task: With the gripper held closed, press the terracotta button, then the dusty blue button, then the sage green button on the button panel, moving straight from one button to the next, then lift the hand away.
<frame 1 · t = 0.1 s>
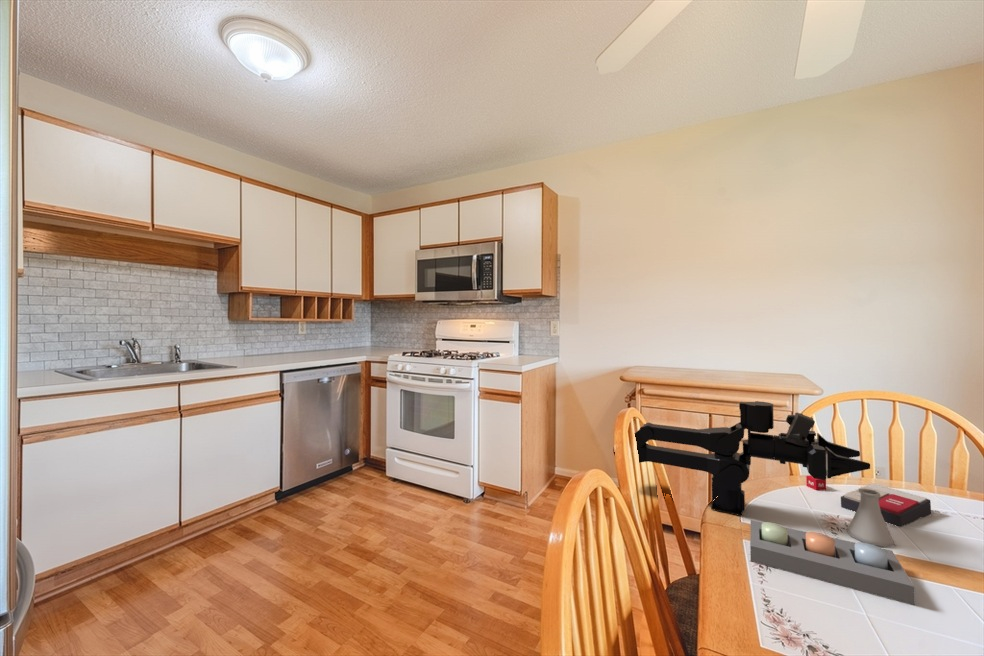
hand: (864, 459, 82), 17 cm above the table, tool horizontal, fingers open, 9 cm apart
button blue: (870, 557, 69), point 3 cm above the table, slide at 0.0 cm
button terracotta: (820, 546, 73), point 3 cm above the table, slide at 0.0 cm
flask: (870, 539, 82), on the table
red letter cube: (816, 488, 108), on the table
button sage: (774, 535, 77), point 3 cm above the table, slide at 0.0 cm
black product box: (885, 512, 94), on the table
button panel: (820, 563, 73), on the table
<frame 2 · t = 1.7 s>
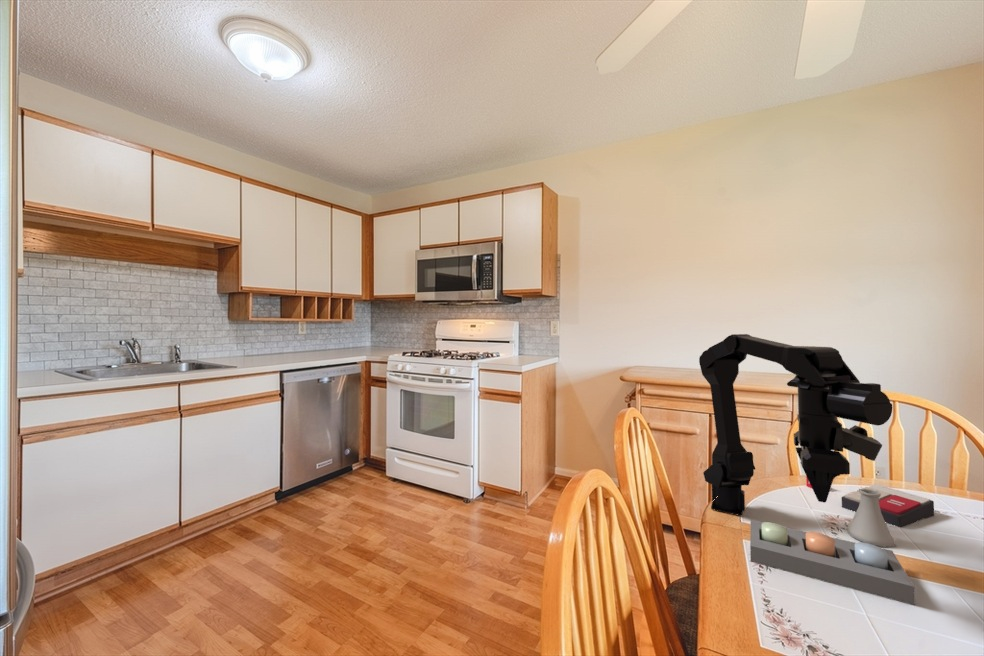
hand: (819, 495, 73), 13 cm above the table, tool pointing down, fingers open, 6 cm apart
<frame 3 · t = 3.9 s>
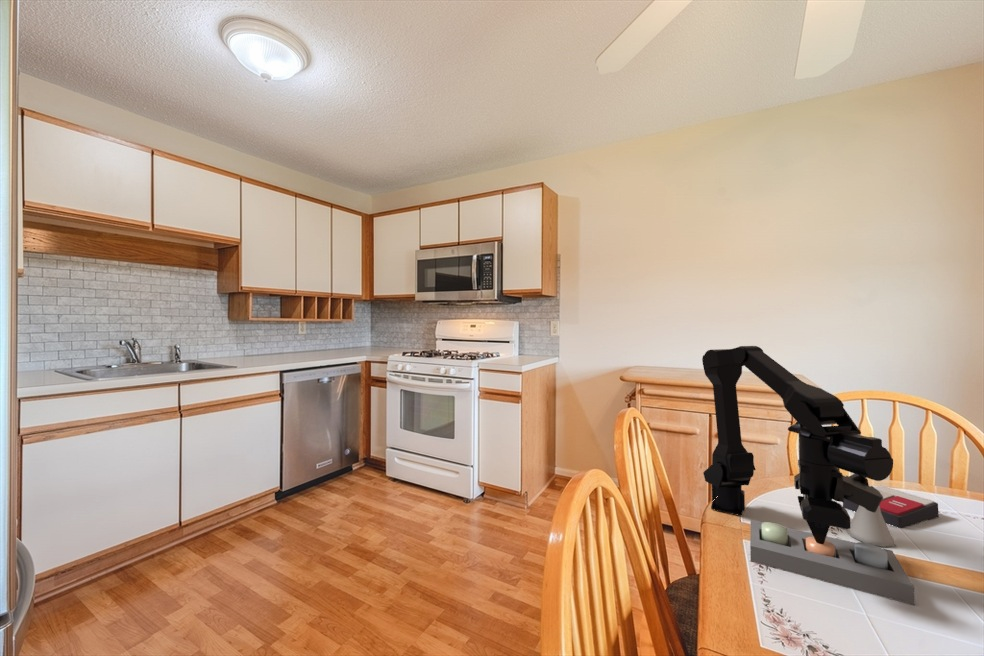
hand: (819, 542, 73), 4 cm above the table, tool pointing down, fingers closed, pressing on button terracotta
button terracotta: (820, 551, 73), point 2 cm above the table, slide at 1.0 cm, touching gripper
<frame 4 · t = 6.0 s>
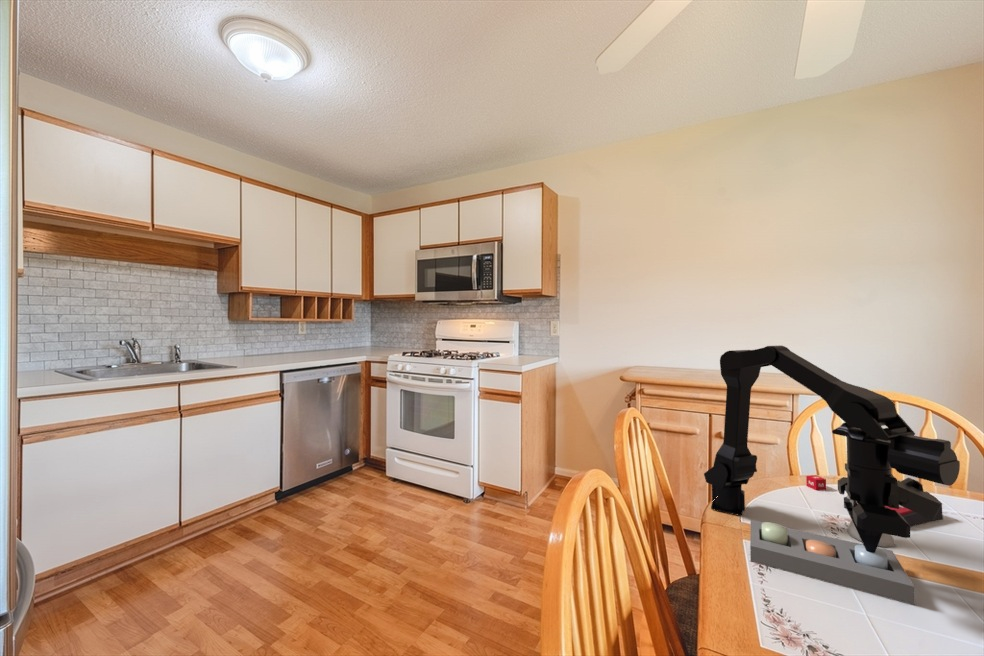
hand: (870, 551, 69), 5 cm above the table, tool pointing down, fingers closed, pressing on button blue
button blue: (870, 560, 69), point 3 cm above the table, slide at 0.5 cm, touching gripper
button terracotta: (820, 554, 73), point 2 cm above the table, slide at 1.5 cm
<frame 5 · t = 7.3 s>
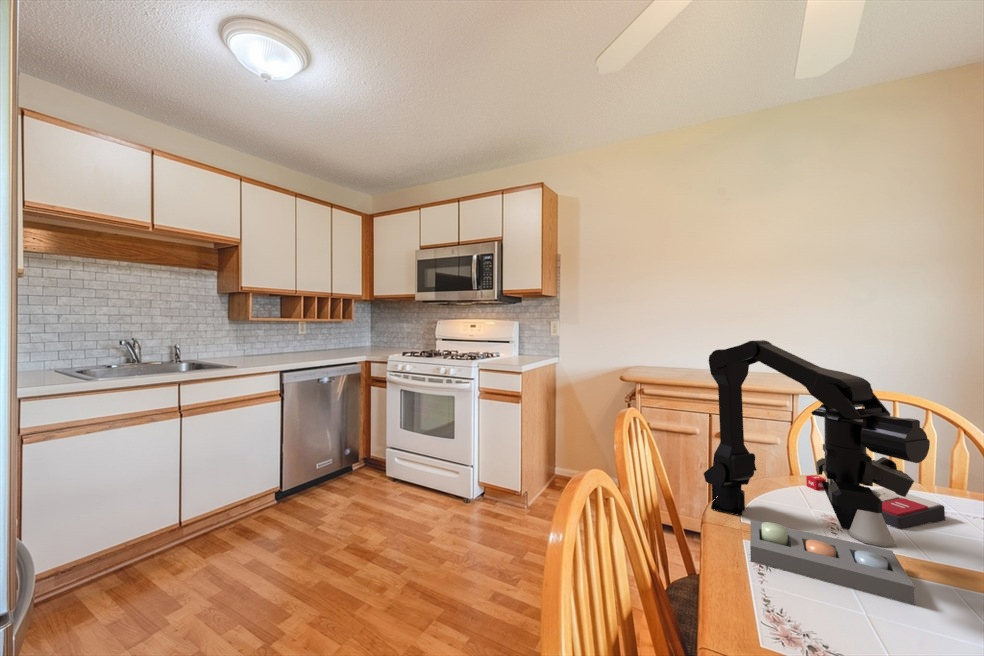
hand: (845, 528, 71), 8 cm above the table, tool pointing down, fingers closed
button blue: (871, 566, 69), point 2 cm above the table, slide at 1.5 cm
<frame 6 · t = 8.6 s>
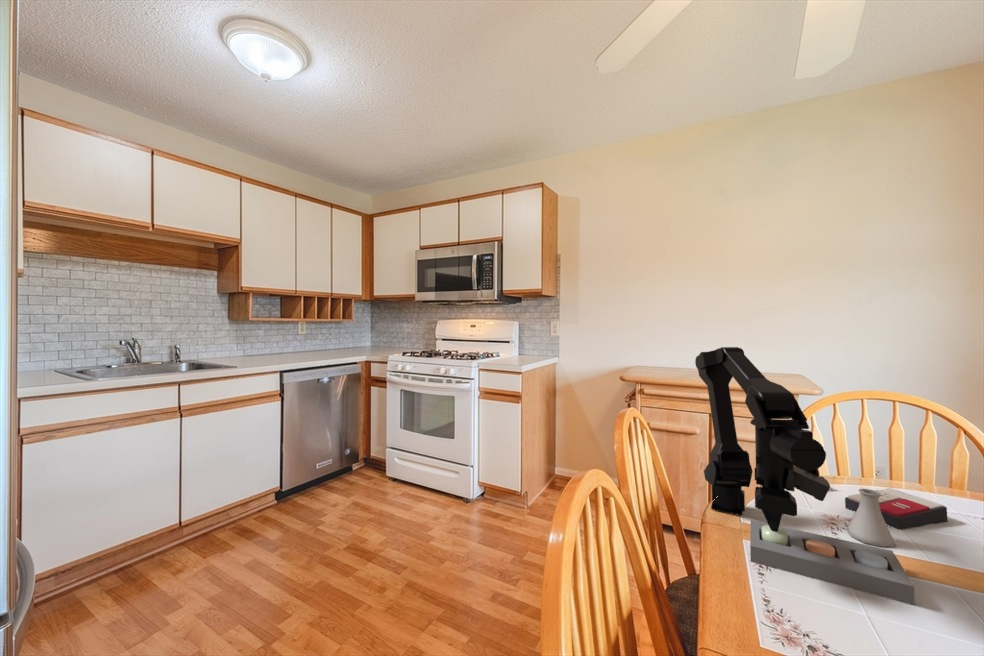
hand: (774, 530, 77), 4 cm above the table, tool pointing down, fingers closed, pressing on button sage
button sage: (774, 538, 77), point 3 cm above the table, slide at 0.6 cm, touching gripper
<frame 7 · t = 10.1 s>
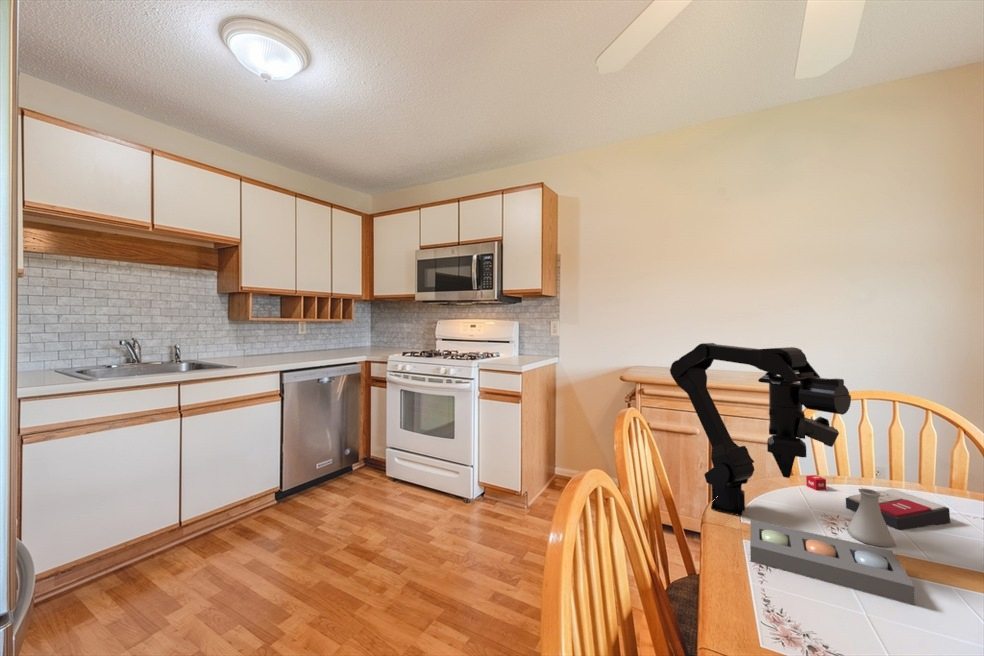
hand: (786, 477, 84), 12 cm above the table, tool pointing down, fingers closed
button sage: (774, 543, 77), point 2 cm above the table, slide at 1.6 cm
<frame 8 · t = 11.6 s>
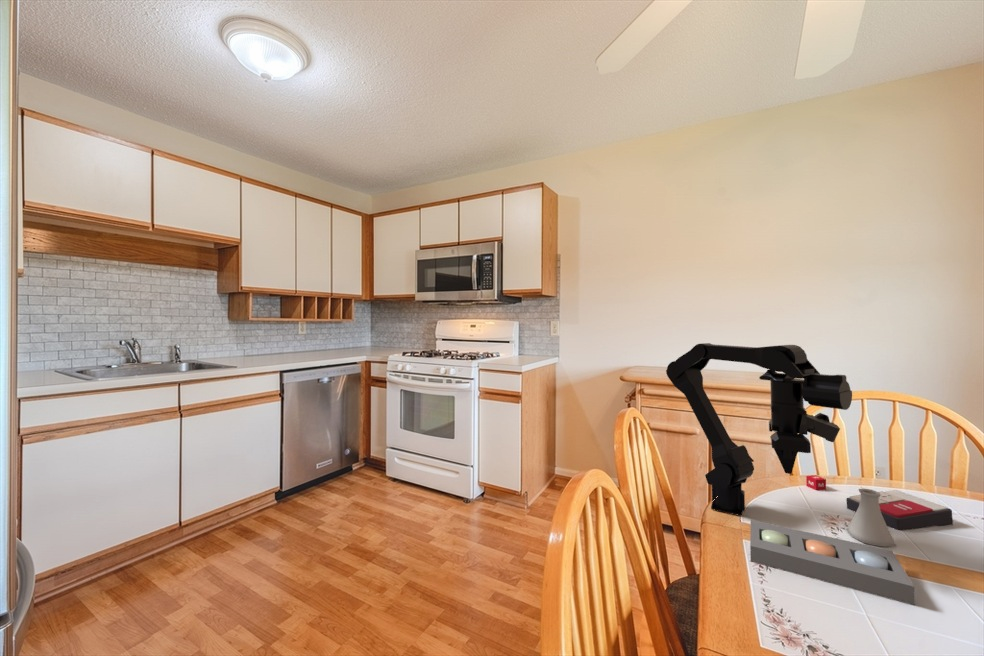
hand: (788, 473, 85), 13 cm above the table, tool pointing down, fingers closed
at the end: button terracotta slide at 1.5 cm; button blue slide at 1.5 cm; button sage slide at 1.6 cm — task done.
